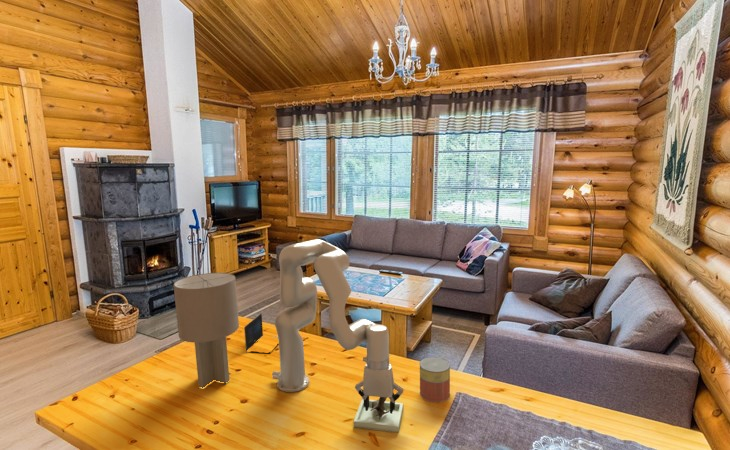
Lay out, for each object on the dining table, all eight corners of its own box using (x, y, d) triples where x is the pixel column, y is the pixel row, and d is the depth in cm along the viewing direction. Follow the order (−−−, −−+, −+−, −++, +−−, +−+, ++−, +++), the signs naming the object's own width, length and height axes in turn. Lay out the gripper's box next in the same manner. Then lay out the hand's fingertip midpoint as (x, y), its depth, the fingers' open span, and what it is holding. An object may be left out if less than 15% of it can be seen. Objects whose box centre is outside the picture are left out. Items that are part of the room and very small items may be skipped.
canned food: (427, 382, 156) (427, 354, 154) (454, 391, 149) (454, 361, 148) (414, 396, 147) (414, 366, 145) (442, 406, 140) (442, 374, 138)
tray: (353, 427, 130) (353, 421, 130) (362, 404, 142) (362, 398, 142) (398, 432, 127) (398, 426, 126) (403, 408, 139) (403, 403, 139)
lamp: (170, 389, 156) (159, 285, 150) (212, 362, 177) (204, 270, 171) (215, 400, 147) (205, 291, 141) (254, 371, 168) (247, 274, 162)
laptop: (270, 354, 184) (268, 328, 182) (245, 353, 186) (243, 327, 184) (285, 338, 201) (283, 314, 199) (262, 337, 204) (260, 313, 202)
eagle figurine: (396, 417, 132) (394, 393, 140) (384, 406, 129) (383, 383, 136) (377, 424, 134) (376, 401, 142) (365, 414, 131) (365, 391, 139)
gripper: (350, 365, 130) (352, 413, 132) (402, 369, 126) (403, 419, 128) (355, 354, 137) (357, 400, 140) (405, 358, 133) (406, 406, 136)
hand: (379, 409), depth 134 cm, fingers open, 8 cm apart
